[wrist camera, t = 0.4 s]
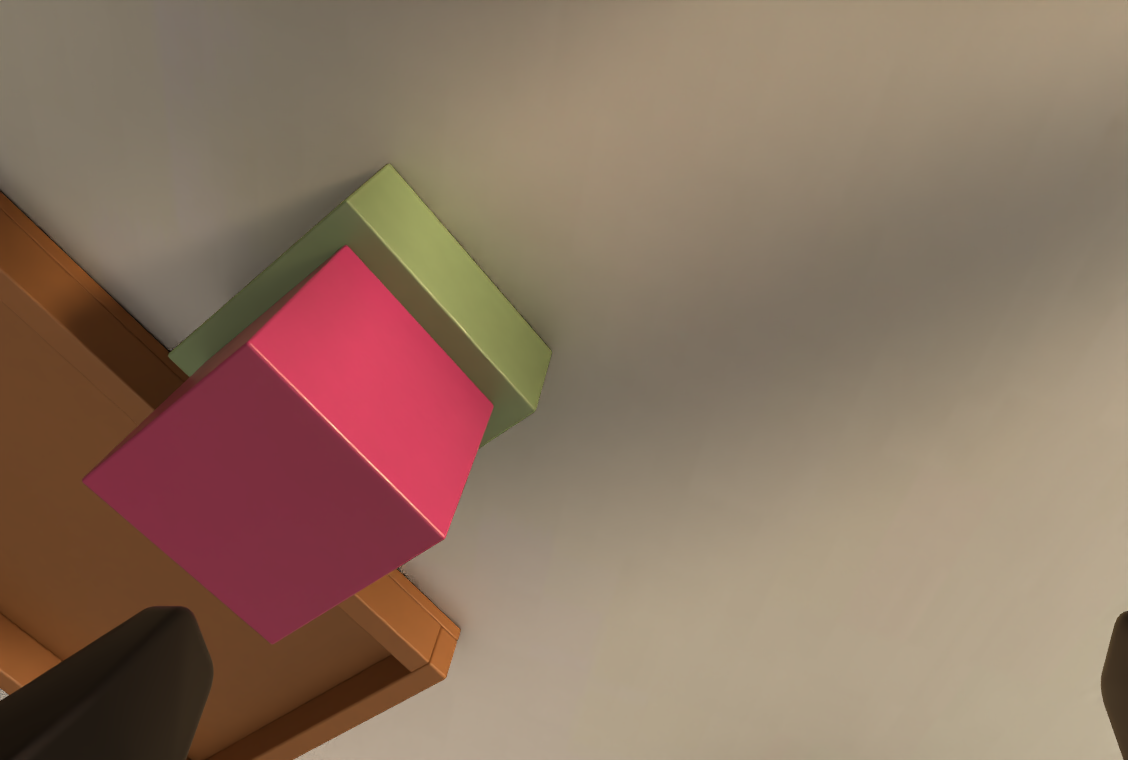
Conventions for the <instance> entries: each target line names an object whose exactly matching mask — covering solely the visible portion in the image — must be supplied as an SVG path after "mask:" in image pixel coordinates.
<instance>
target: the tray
mask: <svg viewBox="0 0 1128 760" xmlns="http://www.w3.org/2000/svg"><path fill="white" fill-rule="evenodd" d="M168 354H169V352H168V351H167V350H166V349H165V348H164V347H163V346H162V345H161V344H160V343H159V342H158V341H157V340H156V339H155V338H154V337H153V336H152V335H151V334H150V333H148V332H147V331H146V330H145V329H144V328H143V327H142V326H141V325H140V324H139V323H138V322H137V321H136V320H135V319H134V318H133V317H132V316H131V315H130V314H129V313H127V312H126V311H125V310H124V309H123V308H122V307H121V306H120V305H119V304H118V303H117V302H116V301H115V300H114V299H113V298H112V297H111V296H110V295H109V294H108V293H106V292H105V291H104V290H103V289H102V288H101V287H100V286H99V285H98V284H97V283H96V282H95V281H94V280H93V279H92V278H91V277H90V276H89V275H88V274H87V273H85V272H84V271H83V270H82V269H81V268H80V267H79V266H78V265H77V264H76V263H75V262H74V261H73V260H72V259H71V258H70V257H69V256H68V255H67V254H66V253H64V252H63V251H62V250H61V249H60V248H59V247H58V246H57V245H56V244H55V243H54V242H53V241H52V240H51V239H50V238H49V237H48V236H47V235H46V234H45V233H43V232H42V231H41V230H40V229H39V228H38V227H37V226H36V225H35V224H34V223H33V222H32V221H31V220H30V219H29V218H28V217H27V216H26V215H25V214H24V213H22V212H21V211H20V210H19V209H18V208H17V207H16V206H15V205H14V204H13V203H12V202H11V201H10V200H9V199H8V198H7V197H6V196H5V195H4V194H3V193H1V192H0V688H1V689H2V690H3V691H5V692H6V693H7V694H9V695H10V694H12V693H14V692H15V691H17V690H18V689H20V688H21V687H23V686H24V685H26V684H28V683H29V682H31V681H32V680H34V679H35V678H37V677H39V676H40V675H42V674H43V673H45V672H46V671H48V670H50V669H51V668H53V667H54V666H56V665H57V664H59V663H61V662H62V661H64V660H65V659H67V658H68V657H70V656H72V655H73V654H75V653H76V652H78V651H79V650H81V649H83V648H84V647H86V646H87V645H89V644H90V643H92V642H93V641H95V640H97V639H98V638H100V637H101V636H103V635H104V634H106V633H108V632H109V631H111V630H112V629H114V628H115V627H117V626H119V625H120V624H122V623H123V622H125V621H126V620H128V619H130V618H131V617H133V616H134V615H136V614H137V613H139V612H141V611H142V610H144V609H146V608H148V607H153V606H183V607H186V608H188V609H189V610H191V611H192V612H193V614H194V616H195V618H196V620H197V623H198V625H199V628H200V630H201V633H202V636H203V638H204V641H205V643H206V646H207V648H208V651H209V654H210V656H211V659H212V662H213V669H214V676H213V683H212V687H211V690H210V693H209V696H208V699H207V702H206V704H205V707H204V710H203V713H202V716H201V718H200V721H199V724H198V727H197V730H196V732H195V735H194V738H193V741H192V744H191V747H190V749H189V752H188V755H187V758H186V760H293V759H295V758H297V757H299V756H301V755H303V754H304V753H306V752H308V751H310V750H312V749H314V748H316V747H318V746H320V745H321V744H323V743H325V742H327V741H329V740H331V739H333V738H335V737H337V736H338V735H340V734H342V733H344V732H346V731H348V730H350V729H352V728H353V727H355V726H357V725H359V724H361V723H363V722H365V721H367V720H369V719H370V718H372V717H374V716H376V715H378V714H380V713H382V712H384V711H386V710H387V709H389V708H391V707H393V706H395V705H397V704H399V703H401V702H403V701H404V700H406V699H408V698H410V697H412V696H414V695H416V694H418V693H419V692H421V691H423V690H425V689H427V688H429V687H431V686H433V685H435V684H436V683H438V682H440V681H442V680H444V679H445V678H446V677H447V673H448V670H449V667H450V663H451V660H452V657H453V653H454V650H455V647H456V643H457V642H456V641H457V640H458V638H459V635H460V629H459V628H458V627H457V626H456V625H455V624H454V623H453V622H452V621H451V620H450V619H449V618H448V617H447V616H446V615H444V614H443V613H442V612H441V611H440V610H439V609H438V608H437V607H436V606H435V605H434V604H433V603H432V602H431V601H430V600H429V599H428V598H427V597H426V596H425V595H424V594H422V593H421V592H420V591H419V590H418V589H417V588H416V587H415V586H414V585H413V584H412V583H411V582H410V581H409V580H408V579H407V578H406V577H405V576H404V575H403V574H401V573H400V572H399V571H398V570H397V569H395V570H393V571H392V572H390V573H388V574H387V575H385V576H383V577H382V578H380V579H379V580H377V581H375V582H374V583H372V584H370V585H369V586H367V587H366V588H364V589H362V590H361V591H359V592H357V593H356V594H354V595H353V596H351V597H349V598H348V599H346V600H344V601H343V602H341V603H340V604H338V605H336V606H335V607H333V608H331V609H330V610H328V611H327V612H325V613H323V614H322V615H320V616H318V617H317V618H315V619H314V620H312V621H310V622H309V623H307V624H305V625H304V626H302V627H301V628H299V629H297V630H296V631H294V632H292V633H291V634H289V635H288V636H286V637H284V638H283V639H281V640H279V641H278V642H276V643H275V644H270V643H269V642H268V641H267V640H266V639H264V638H263V637H262V636H261V635H260V634H259V633H257V632H256V631H255V630H254V629H253V628H252V627H250V626H249V625H248V624H247V623H246V622H245V621H243V620H242V619H241V618H240V617H239V616H238V615H236V614H235V613H234V612H233V611H232V610H231V609H229V608H228V607H227V606H226V605H225V604H224V603H222V602H221V601H220V600H219V599H218V598H217V597H215V596H214V595H213V594H212V593H211V592H210V591H208V590H207V589H206V588H205V587H204V586H203V585H201V584H200V583H199V582H198V581H197V580H196V579H194V578H193V577H192V576H191V575H190V574H189V573H187V572H186V571H185V570H184V569H183V568H182V567H180V566H179V565H178V564H177V563H176V562H175V561H173V560H172V559H171V558H170V557H169V556H168V555H166V554H165V553H164V552H163V551H162V550H161V549H159V548H158V547H157V546H156V545H155V544H154V543H152V542H151V541H150V540H149V539H148V538H147V537H145V536H144V535H143V534H142V533H141V532H140V531H138V530H137V529H136V528H135V527H134V526H133V525H131V524H130V523H129V522H128V521H127V520H126V519H124V518H123V517H122V516H121V515H120V514H119V513H117V512H116V511H115V510H114V509H113V508H112V507H110V506H109V505H108V504H107V503H106V502H105V501H103V500H102V499H101V498H100V497H99V496H98V495H96V494H95V493H94V492H93V491H92V490H91V489H89V488H88V487H87V486H86V485H85V484H84V483H83V482H82V479H83V477H85V476H86V475H87V474H88V473H89V472H90V471H91V470H92V469H93V468H94V467H95V466H96V465H97V464H98V463H99V462H100V461H101V460H103V459H104V458H105V457H106V456H107V455H108V454H109V453H110V452H111V451H112V450H113V449H114V448H115V447H116V446H117V445H118V444H119V443H121V442H122V441H123V440H124V439H125V438H126V437H127V436H128V435H129V434H130V433H131V432H132V431H133V430H134V429H135V428H136V427H137V426H138V425H140V424H141V423H142V422H143V421H144V420H145V419H146V418H147V417H148V416H149V415H150V414H151V413H152V412H153V411H154V410H155V409H156V408H158V407H159V406H160V405H161V404H162V403H163V402H164V401H165V400H166V399H167V398H168V397H169V396H170V395H171V394H172V393H173V392H174V391H176V390H177V389H178V388H179V387H180V386H181V385H182V384H183V383H184V382H185V381H186V380H187V379H188V378H189V376H188V375H187V374H186V373H184V372H183V371H182V370H181V369H180V368H179V367H178V366H177V365H176V364H175V363H174V362H173V361H172V360H171V359H170V358H169V357H168Z"/></svg>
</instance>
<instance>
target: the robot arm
mask: <svg viewBox="0 0 1128 760" xmlns="http://www.w3.org/2000/svg"><path fill="white" fill-rule="evenodd" d="M213 676H214V669H213V662H212V659H211V656H210V654H209V651H208V648H207V646H206V643H205V641H204V638H203V636H202V633H201V630H200V628H199V625H198V623H197V620H196V618H195V616H194V614H193V612H192V611H191V610H189V609H188V608H186V607H183V606H153V607H148V608H146V609H144V610H142V611H141V612H139V613H137V614H136V615H134V616H133V617H131V618H130V619H128V620H126V621H125V622H123V623H122V624H120V625H119V626H117V627H115V628H114V629H112V630H111V631H109V632H108V633H106V634H104V635H103V636H101V637H100V638H98V639H97V640H95V641H93V642H92V643H90V644H89V645H87V646H86V647H84V648H83V649H81V650H79V651H78V652H76V653H75V654H73V655H72V656H70V657H68V658H67V659H65V660H64V661H62V662H61V663H59V664H57V665H56V666H54V667H53V668H51V669H50V670H48V671H46V672H45V673H43V674H42V675H40V676H39V677H37V678H35V679H34V680H32V681H31V682H29V683H28V684H26V685H24V686H23V687H21V688H20V689H18V690H17V691H15V692H14V693H12V694H10V695H9V696H7V697H6V698H4V699H3V700H1V701H0V760H186V758H187V755H188V752H189V749H190V747H191V744H192V741H193V738H194V735H195V732H196V730H197V727H198V724H199V721H200V718H201V716H202V713H203V710H204V707H205V704H206V702H207V699H208V696H209V693H210V690H211V687H212V683H213ZM1101 692H1102V697H1103V702H1104V705H1105V708H1106V711H1107V714H1108V717H1109V719H1110V722H1111V725H1112V728H1113V731H1114V734H1115V736H1116V739H1117V742H1118V745H1119V748H1120V751H1121V753H1122V756H1123V759H1124V760H1128V611H1126V612H1123V613H1122V614H1120V616H1119V617H1118V618H1117V620H1116V622H1115V625H1114V629H1113V633H1112V636H1111V640H1110V644H1109V648H1108V652H1107V656H1106V660H1105V663H1104V667H1103V671H1102V676H1101Z"/></svg>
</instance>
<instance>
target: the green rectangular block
mask: <svg viewBox="0 0 1128 760" xmlns="http://www.w3.org/2000/svg"><path fill="white" fill-rule="evenodd" d="M344 245H347V246H348V247H349V248H350V249H351V250H352V251H353V252H354V253H355V254H356V255H357V256H358V258H359V259H360V260H361V261H362V262H363V263H364V264H365V265H366V266H367V267H368V268H369V270H370V271H371V272H372V273H373V274H374V275H375V276H376V277H377V278H378V279H379V280H380V282H381V283H382V284H383V285H384V286H385V287H386V288H387V289H388V290H389V291H390V292H391V294H392V295H393V296H394V297H395V298H396V299H397V300H398V301H399V302H400V303H401V305H402V306H403V307H404V308H405V309H406V310H407V311H408V312H409V313H410V314H411V315H412V317H413V318H414V319H415V320H416V321H417V322H418V323H419V324H420V325H421V326H422V327H423V329H424V330H425V331H426V332H427V333H428V334H429V335H430V336H431V337H432V338H433V339H434V341H435V342H436V343H437V344H438V345H439V346H440V347H441V348H442V349H443V350H444V352H445V353H446V354H447V355H448V356H449V357H450V358H451V359H452V360H453V361H454V362H455V364H456V365H457V366H458V367H459V368H460V369H461V370H462V371H463V372H464V373H465V374H466V376H467V377H468V378H469V379H470V380H471V381H472V382H473V383H474V384H475V385H476V387H477V388H478V389H479V390H480V391H481V392H482V393H483V394H484V395H485V396H486V397H487V399H488V400H489V401H490V402H491V403H492V404H493V406H494V407H493V410H492V413H491V416H490V418H489V421H488V424H487V426H486V429H485V432H484V435H483V437H482V440H481V443H480V445H479V448H480V447H482V446H483V445H485V444H487V443H488V442H490V441H491V440H493V439H494V438H496V437H497V436H499V435H500V434H502V433H503V432H505V431H506V430H508V429H509V428H511V427H512V426H514V425H515V424H517V423H519V422H520V421H522V420H523V419H525V418H526V417H528V416H529V415H531V414H532V413H534V412H535V411H536V408H537V405H538V401H539V398H540V394H541V390H542V387H543V383H544V380H545V376H546V373H547V369H548V365H549V362H550V358H551V355H552V351H551V350H550V349H549V348H548V346H547V345H546V344H545V343H544V342H543V341H542V340H541V338H540V337H539V336H538V335H537V334H536V333H535V331H534V330H533V329H532V328H531V327H530V326H529V324H528V323H527V322H526V321H525V320H524V319H523V317H522V316H521V315H520V314H519V313H518V312H517V311H516V309H515V308H514V307H513V306H512V305H511V304H510V302H509V301H508V300H507V299H506V298H505V297H504V295H503V294H502V293H501V292H500V291H499V290H498V289H497V287H496V286H495V285H494V284H493V283H492V282H491V280H490V279H489V278H488V277H487V276H486V275H485V273H484V272H483V271H482V270H481V269H480V268H479V266H478V265H477V264H476V263H475V262H474V261H473V260H472V258H471V257H470V256H469V255H468V254H467V253H466V251H465V250H464V249H463V248H462V247H461V246H460V244H459V243H458V242H457V241H456V240H455V239H454V237H453V236H452V235H451V234H450V233H449V232H448V231H447V229H446V228H445V227H444V226H443V225H442V224H441V222H440V221H439V220H438V219H437V218H436V217H435V215H434V214H433V213H432V212H431V211H430V210H429V208H428V207H427V206H426V205H425V204H424V203H423V202H422V200H421V199H420V198H419V197H418V196H417V195H416V193H415V192H414V191H413V190H412V189H411V188H410V186H409V185H408V184H407V183H406V182H405V181H404V180H403V178H402V177H401V176H400V175H399V174H398V173H397V171H396V170H395V169H394V168H393V167H392V166H391V165H390V164H386V165H385V166H384V167H383V168H382V169H380V170H379V171H378V172H377V173H376V174H375V175H373V176H372V177H371V178H370V179H369V180H368V181H366V182H365V183H364V184H363V185H362V186H360V187H359V188H358V189H357V190H356V191H355V192H353V193H352V194H351V195H350V196H349V197H348V198H346V199H345V200H344V201H343V202H342V203H341V204H339V205H338V206H337V207H336V208H335V209H334V210H333V211H331V212H330V213H329V214H328V215H327V216H326V217H325V218H323V219H322V220H321V221H320V222H319V223H318V224H317V225H315V226H314V227H313V228H312V229H311V230H310V231H309V232H307V233H306V234H305V235H304V236H303V237H302V238H300V239H299V240H298V241H297V242H296V243H295V244H294V245H292V246H291V247H290V248H289V249H288V250H287V251H286V252H284V253H283V254H282V255H281V256H280V257H279V258H278V259H276V260H275V261H274V262H273V263H272V264H271V265H270V266H268V267H267V268H266V269H265V270H264V271H263V272H261V273H260V274H259V275H258V276H257V277H256V278H255V279H253V280H252V281H251V282H250V283H249V284H248V285H247V286H245V287H244V288H243V289H242V290H241V291H240V292H239V293H237V294H236V295H235V296H234V297H233V298H232V299H231V300H229V301H228V302H227V303H226V304H225V305H224V306H223V307H221V308H220V309H219V310H218V311H217V312H216V313H214V314H213V315H212V316H211V317H210V318H209V319H208V320H206V321H205V322H204V323H203V324H202V325H201V326H200V327H198V328H197V329H196V330H195V331H194V332H193V333H192V334H190V335H189V336H188V337H187V338H186V339H185V340H184V341H182V342H181V343H180V344H179V345H178V346H177V347H176V348H174V349H173V350H172V351H171V352H170V353H169V354H168V357H169V358H170V359H171V360H172V361H173V362H174V363H175V364H176V365H177V366H178V367H179V368H180V369H181V370H182V371H183V372H184V373H186V374H187V375H188V376H189V377H190V376H191V375H192V374H194V373H195V372H196V371H197V370H198V369H199V368H200V367H201V366H202V365H203V364H204V363H205V362H206V361H207V360H209V359H210V358H211V357H212V356H213V355H215V354H216V353H217V352H218V351H219V350H221V349H222V348H223V347H224V346H225V345H226V344H228V343H229V342H230V341H231V340H232V339H234V338H235V337H236V336H237V335H238V334H239V333H241V332H242V331H243V330H244V329H245V328H247V327H248V326H249V325H250V324H251V323H253V322H254V321H255V320H256V319H257V318H258V317H260V316H261V315H262V314H263V313H264V312H266V311H267V310H268V309H269V308H270V307H272V306H273V305H274V304H275V303H276V302H277V301H279V300H280V299H281V298H282V297H283V296H285V295H286V294H287V293H288V292H289V291H290V290H292V289H293V288H294V287H295V286H296V285H298V284H299V283H300V282H301V281H302V280H304V279H305V278H306V277H307V276H308V275H309V274H311V273H312V272H313V271H314V270H315V269H317V268H318V267H319V266H320V265H321V264H322V263H324V262H325V261H326V260H327V259H328V258H330V257H331V256H332V255H333V254H334V253H336V252H337V251H338V250H339V249H340V248H341V247H343V246H344ZM479 448H478V449H479Z"/></svg>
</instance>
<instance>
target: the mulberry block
mask: <svg viewBox="0 0 1128 760" xmlns="http://www.w3.org/2000/svg"><path fill="white" fill-rule="evenodd" d="M493 407H494V406H493V404H492V403H491V402H490V401H489V400H488V399H487V397H486V396H485V395H484V394H483V393H482V392H481V391H480V390H479V389H478V388H477V387H476V385H475V384H474V383H473V382H472V381H471V380H470V379H469V378H468V377H467V376H466V374H465V373H464V372H463V371H462V370H461V369H460V368H459V367H458V366H457V365H456V364H455V362H454V361H453V360H452V359H451V358H450V357H449V356H448V355H447V354H446V353H445V352H444V350H443V349H442V348H441V347H440V346H439V345H438V344H437V343H436V342H435V341H434V339H433V338H432V337H431V336H430V335H429V334H428V333H427V332H426V331H425V330H424V329H423V327H422V326H421V325H420V324H419V323H418V322H417V321H416V320H415V319H414V318H413V317H412V315H411V314H410V313H409V312H408V311H407V310H406V309H405V308H404V307H403V306H402V305H401V303H400V302H399V301H398V300H397V299H396V298H395V297H394V296H393V295H392V294H391V292H390V291H389V290H388V289H387V288H386V287H385V286H384V285H383V284H382V283H381V282H380V280H379V279H378V278H377V277H376V276H375V275H374V274H373V273H372V272H371V271H370V270H369V268H368V267H367V266H366V265H365V264H364V263H363V262H362V261H361V260H360V259H359V258H358V256H357V255H356V254H355V253H354V252H353V251H352V250H351V249H350V248H349V247H348V246H347V245H344V246H343V247H341V248H340V249H339V250H338V251H337V252H336V253H334V254H333V255H332V256H331V257H330V258H328V259H327V260H326V261H325V262H324V263H322V264H321V265H320V266H319V267H318V268H317V269H315V270H314V271H313V272H312V273H311V274H309V275H308V276H307V277H306V278H305V279H304V280H302V281H301V282H300V283H299V284H298V285H296V286H295V287H294V288H293V289H292V290H290V291H289V292H288V293H287V294H286V295H285V296H283V297H282V298H281V299H280V300H279V301H277V302H276V303H275V304H274V305H273V306H272V307H270V308H269V309H268V310H267V311H266V312H264V313H263V314H262V315H261V316H260V317H258V318H257V319H256V320H255V321H254V322H253V323H251V324H250V325H249V326H248V327H247V328H245V329H244V330H243V331H242V332H241V333H239V334H238V335H237V336H236V337H235V338H234V339H232V340H231V341H230V342H229V343H228V344H226V345H225V346H224V347H223V348H222V349H221V350H219V351H218V352H217V353H216V354H215V355H213V356H212V357H211V358H210V359H209V360H207V361H206V362H205V363H204V364H203V365H202V366H201V367H200V368H199V369H198V370H197V371H196V372H195V373H194V374H192V375H191V376H190V377H189V378H188V379H187V380H186V381H185V382H184V383H183V384H182V385H181V386H180V387H179V388H178V389H177V390H176V391H174V392H173V393H172V394H171V395H170V396H169V397H168V398H167V399H166V400H165V401H164V402H163V403H162V404H161V405H160V406H159V407H158V408H156V409H155V410H154V411H153V412H152V413H151V414H150V415H149V416H148V417H147V418H146V419H145V420H144V421H143V422H142V423H141V424H140V425H138V426H137V427H136V428H135V429H134V430H133V431H132V432H131V433H130V434H129V435H128V436H127V437H126V438H125V439H124V440H123V441H122V442H121V443H119V444H118V445H117V446H116V447H115V448H114V449H113V450H112V451H111V452H110V453H109V454H108V455H107V456H106V457H105V458H104V459H103V460H101V461H100V462H99V463H98V464H97V465H96V466H95V467H94V468H93V469H92V470H91V471H90V472H89V473H88V474H87V475H86V476H85V477H83V479H82V482H83V483H84V484H85V485H86V486H87V487H88V488H89V489H91V490H92V491H93V492H94V493H95V494H96V495H98V496H99V497H100V498H101V499H102V500H103V501H105V502H106V503H107V504H108V505H109V506H110V507H112V508H113V509H114V510H115V511H116V512H117V513H119V514H120V515H121V516H122V517H123V518H124V519H126V520H127V521H128V522H129V523H130V524H131V525H133V526H134V527H135V528H136V529H137V530H138V531H140V532H141V533H142V534H143V535H144V536H145V537H147V538H148V539H149V540H150V541H151V542H152V543H154V544H155V545H156V546H157V547H158V548H159V549H161V550H162V551H163V552H164V553H165V554H166V555H168V556H169V557H170V558H171V559H172V560H173V561H175V562H176V563H177V564H178V565H179V566H180V567H182V568H183V569H184V570H185V571H186V572H187V573H189V574H190V575H191V576H192V577H193V578H194V579H196V580H197V581H198V582H199V583H200V584H201V585H203V586H204V587H205V588H206V589H207V590H208V591H210V592H211V593H212V594H213V595H214V596H215V597H217V598H218V599H219V600H220V601H221V602H222V603H224V604H225V605H226V606H227V607H228V608H229V609H231V610H232V611H233V612H234V613H235V614H236V615H238V616H239V617H240V618H241V619H242V620H243V621H245V622H246V623H247V624H248V625H249V626H250V627H252V628H253V629H254V630H255V631H256V632H257V633H259V634H260V635H261V636H262V637H263V638H264V639H266V640H267V641H268V642H269V643H270V644H275V643H276V642H278V641H279V640H281V639H283V638H284V637H286V636H288V635H289V634H291V633H292V632H294V631H296V630H297V629H299V628H301V627H302V626H304V625H305V624H307V623H309V622H310V621H312V620H314V619H315V618H317V617H318V616H320V615H322V614H323V613H325V612H327V611H328V610H330V609H331V608H333V607H335V606H336V605H338V604H340V603H341V602H343V601H344V600H346V599H348V598H349V597H351V596H353V595H354V594H356V593H357V592H359V591H361V590H362V589H364V588H366V587H367V586H369V585H370V584H372V583H374V582H375V581H377V580H379V579H380V578H382V577H383V576H385V575H387V574H388V573H390V572H392V571H393V570H395V569H396V568H398V567H400V566H401V565H403V564H405V563H406V562H408V561H410V560H411V559H413V558H414V557H416V556H418V555H419V554H421V553H423V552H424V551H426V550H427V549H429V548H431V547H432V546H434V545H436V544H437V543H439V542H440V541H442V540H444V539H445V537H446V535H447V532H448V529H449V527H450V524H451V521H452V519H453V516H454V513H455V510H456V508H457V505H458V502H459V500H460V497H461V494H462V491H463V489H464V486H465V483H466V481H467V478H468V475H469V473H470V470H471V467H472V464H473V462H474V459H475V456H476V454H477V451H478V448H479V445H480V443H481V440H482V437H483V435H484V432H485V429H486V426H487V424H488V421H489V418H490V416H491V413H492V410H493Z"/></svg>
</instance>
